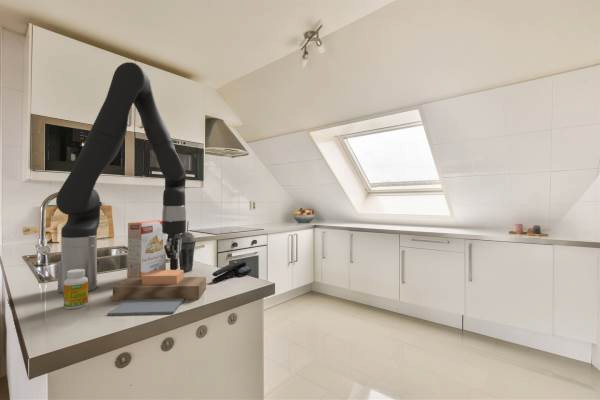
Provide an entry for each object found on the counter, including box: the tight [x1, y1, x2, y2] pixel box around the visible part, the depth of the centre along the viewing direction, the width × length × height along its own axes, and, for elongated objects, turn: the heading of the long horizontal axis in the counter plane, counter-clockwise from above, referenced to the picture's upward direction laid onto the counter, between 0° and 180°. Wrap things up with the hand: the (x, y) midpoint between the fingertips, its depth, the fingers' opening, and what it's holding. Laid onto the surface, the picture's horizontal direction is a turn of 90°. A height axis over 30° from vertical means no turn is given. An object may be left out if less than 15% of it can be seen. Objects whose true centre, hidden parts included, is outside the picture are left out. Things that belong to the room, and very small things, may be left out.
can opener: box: [211, 259, 252, 283], centre depth 114 cm, size 18×7×6 cm, turn 147°
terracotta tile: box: [142, 269, 185, 284], centre depth 94 cm, size 10×7×2 cm
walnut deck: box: [112, 276, 207, 302], centre depth 93 cm, size 24×10×4 cm, turn 96°
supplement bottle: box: [63, 269, 89, 310], centre depth 83 cm, size 5×5×10 cm
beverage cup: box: [178, 220, 196, 273], centre depth 122 cm, size 7×7×20 cm
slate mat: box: [107, 298, 185, 316], centre depth 82 cm, size 16×10×1 cm, turn 96°
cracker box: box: [126, 219, 167, 279], centre depth 111 cm, size 14×6×21 cm, turn 168°
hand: (174, 269), depth 104 cm, fingers closed
